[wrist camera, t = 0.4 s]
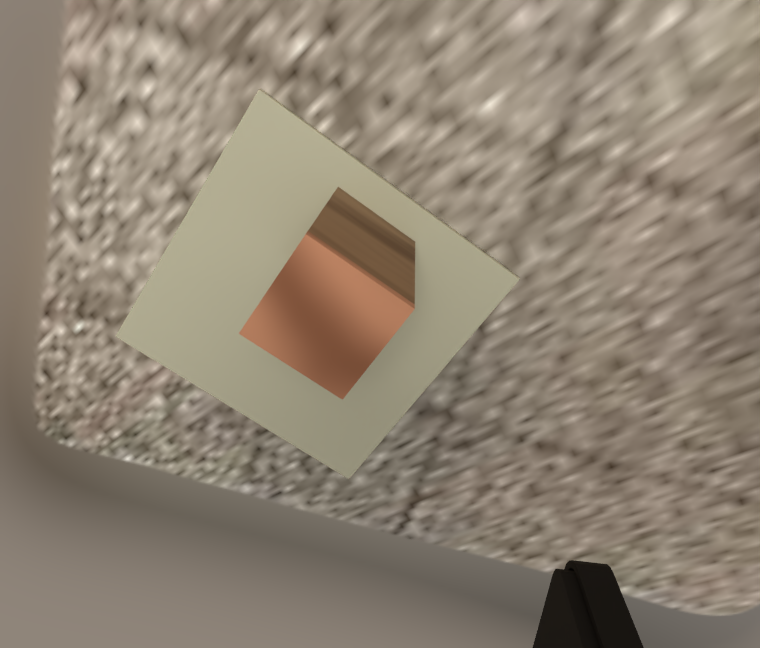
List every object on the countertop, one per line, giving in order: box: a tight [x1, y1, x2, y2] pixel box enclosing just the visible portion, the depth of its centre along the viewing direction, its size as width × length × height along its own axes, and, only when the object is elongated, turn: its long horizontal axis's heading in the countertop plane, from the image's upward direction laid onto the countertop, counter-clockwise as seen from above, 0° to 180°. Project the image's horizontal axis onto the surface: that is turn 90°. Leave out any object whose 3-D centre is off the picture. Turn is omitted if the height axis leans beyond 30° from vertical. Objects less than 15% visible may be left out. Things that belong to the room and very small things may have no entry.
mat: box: [116, 89, 520, 479], centre depth 41 cm, size 20×20×1 cm
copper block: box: [239, 187, 415, 400], centre depth 34 cm, size 6×6×12 cm
